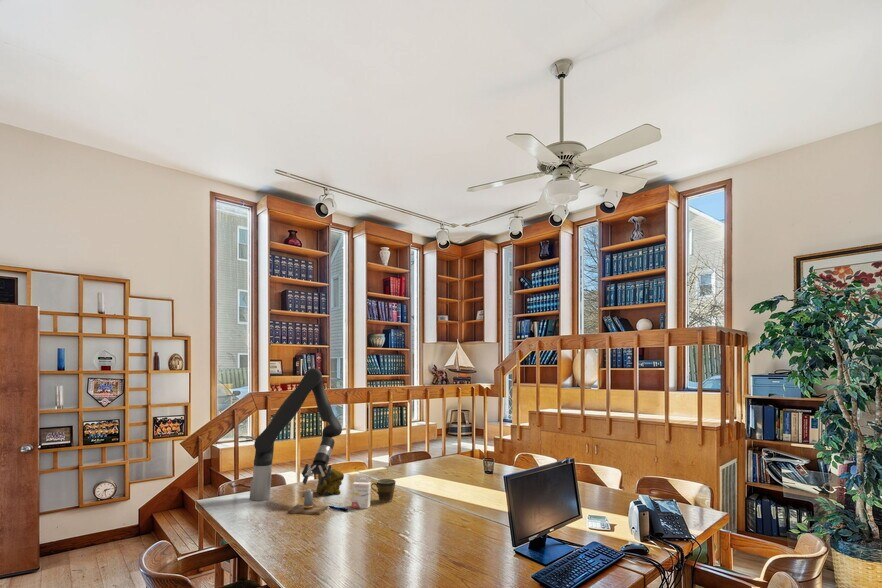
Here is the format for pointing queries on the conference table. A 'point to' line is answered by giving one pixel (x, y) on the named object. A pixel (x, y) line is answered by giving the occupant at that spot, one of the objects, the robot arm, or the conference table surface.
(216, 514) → the conference table surface
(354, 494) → the ink cartridge box
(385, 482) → the ceramic cup
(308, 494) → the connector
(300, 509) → the walnut board
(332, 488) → the gourd
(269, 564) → the conference table surface
